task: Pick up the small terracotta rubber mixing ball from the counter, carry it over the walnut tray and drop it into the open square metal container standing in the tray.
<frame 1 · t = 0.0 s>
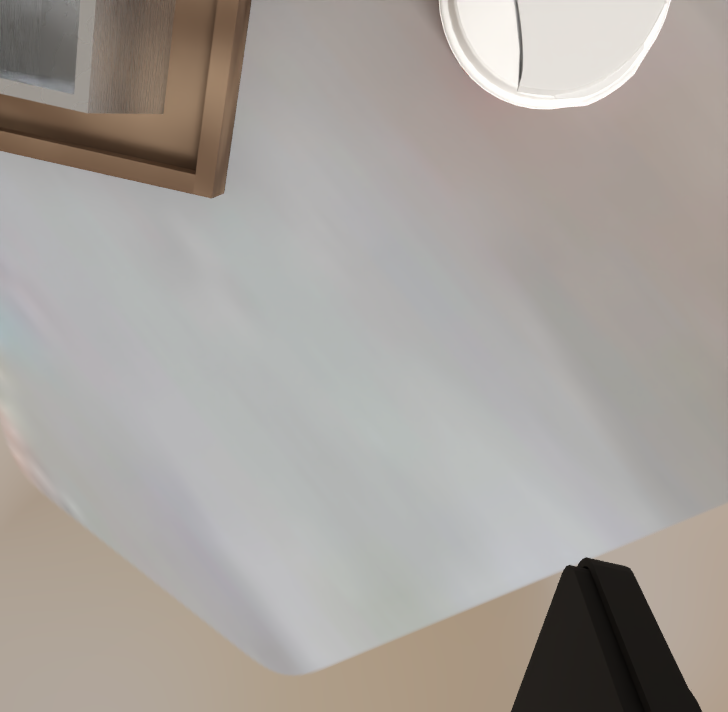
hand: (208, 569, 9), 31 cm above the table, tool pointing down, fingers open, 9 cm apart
paper cup: (506, 32, 35), on the table
square metal container: (103, 27, 35), point 1 cm above the table, touching walnut tray
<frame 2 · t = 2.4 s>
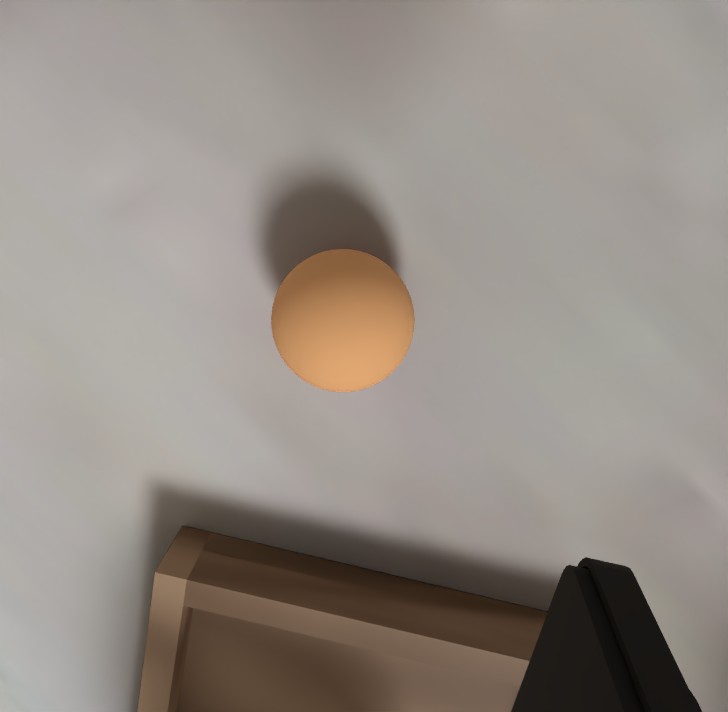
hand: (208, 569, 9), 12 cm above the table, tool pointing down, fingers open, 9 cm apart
mixing ball: (350, 301, 20), on the table
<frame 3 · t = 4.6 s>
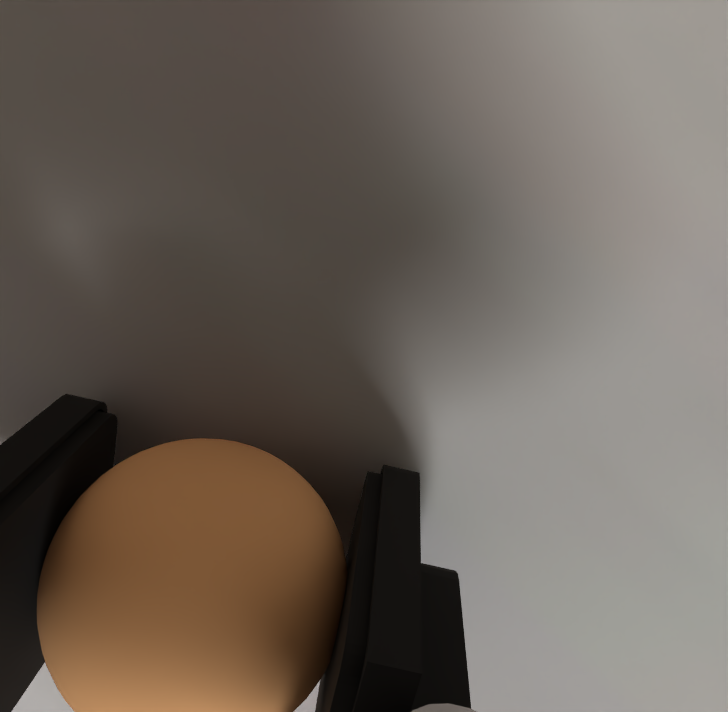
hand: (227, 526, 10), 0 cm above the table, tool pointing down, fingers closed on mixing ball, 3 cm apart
mixing ball: (235, 508, 11), on the table, touching gripper
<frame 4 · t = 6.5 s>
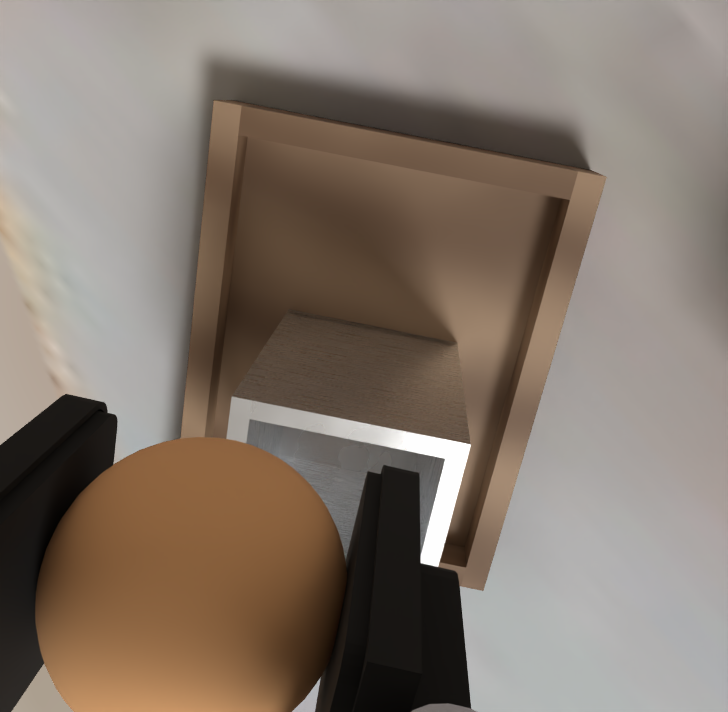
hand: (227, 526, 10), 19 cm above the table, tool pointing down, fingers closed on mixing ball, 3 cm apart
mixing ball: (235, 507, 11), point 19 cm above the table, touching gripper
walnut tray: (368, 351, 30), on the table
square metal container: (358, 402, 30), point 1 cm above the table, touching walnut tray
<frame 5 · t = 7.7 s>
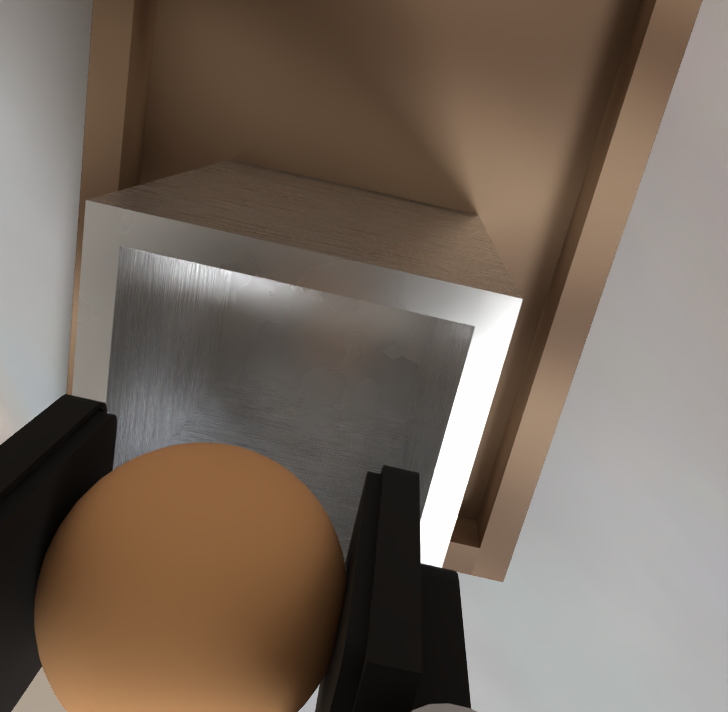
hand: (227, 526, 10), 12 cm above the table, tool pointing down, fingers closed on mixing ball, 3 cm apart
mixing ball: (234, 512, 11), point 12 cm above the table, touching gripper
walnut tray: (347, 233, 21), on the table
square metal container: (331, 305, 21), point 1 cm above the table, touching walnut tray
when the fingers open (10 cm above the table, at t = 8.6 s): mixing ball drops 8 cm, resting on square metal container.
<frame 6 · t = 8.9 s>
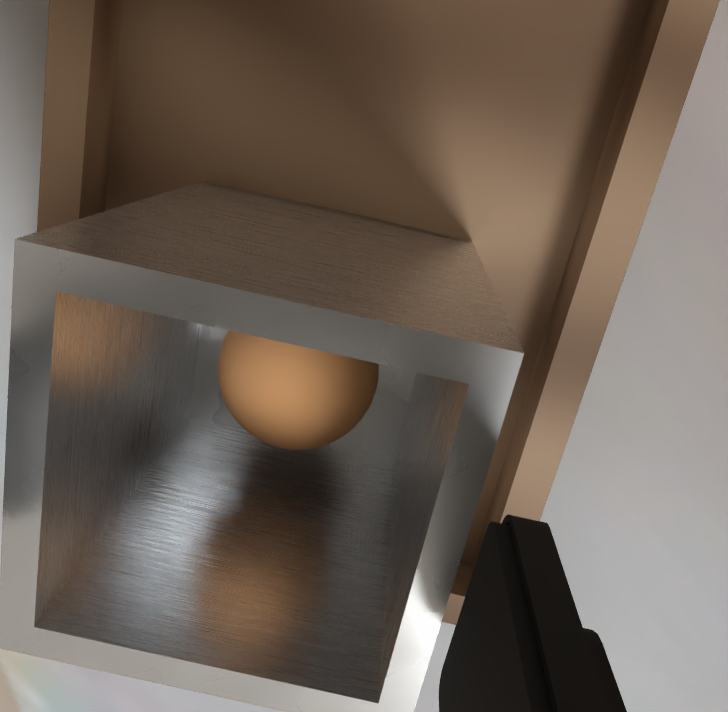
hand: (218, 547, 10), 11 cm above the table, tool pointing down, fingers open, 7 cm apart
mixing ball: (310, 344, 18), point 2 cm above the table, touching square metal container
walnut tray: (331, 259, 19), on the table
square metal container: (313, 337, 19), point 1 cm above the table, touching mixing ball, walnut tray
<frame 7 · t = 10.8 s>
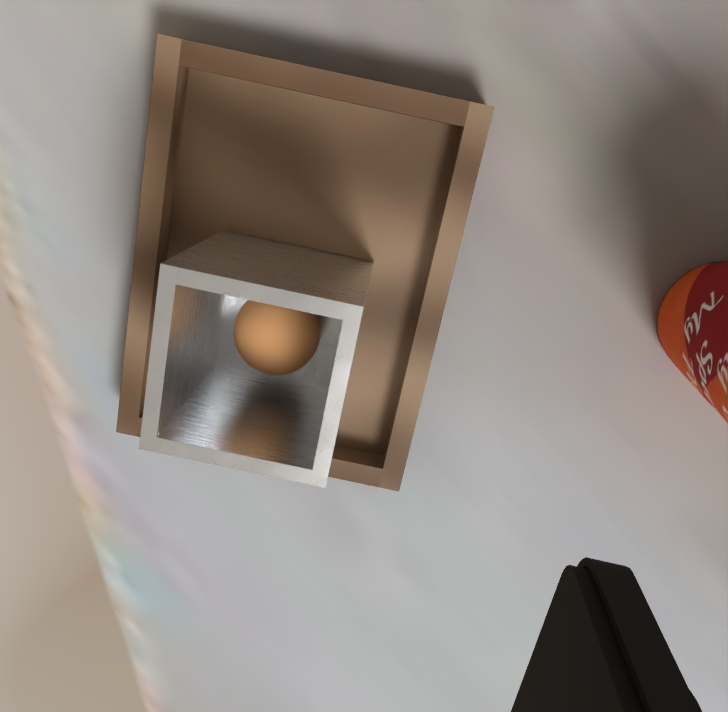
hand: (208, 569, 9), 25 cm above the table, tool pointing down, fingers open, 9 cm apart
mixing ball: (284, 320, 33), point 2 cm above the table, touching square metal container
paper cup: (715, 318, 33), on the table
walnut tray: (297, 272, 34), on the table
square metal container: (286, 317, 33), point 1 cm above the table, touching mixing ball, walnut tray
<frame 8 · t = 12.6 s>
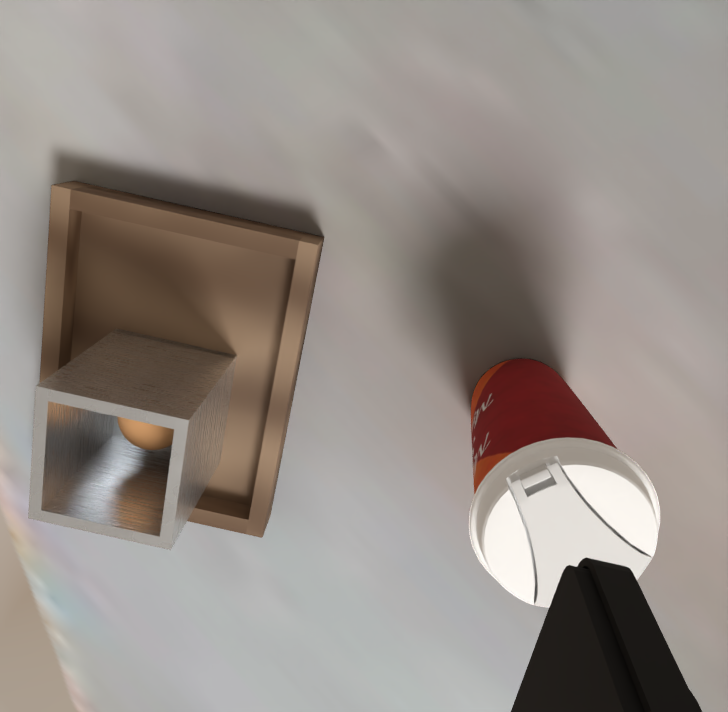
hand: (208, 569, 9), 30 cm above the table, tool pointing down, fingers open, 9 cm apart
mixing ball: (166, 401, 40), point 2 cm above the table, touching square metal container
paper cup: (519, 402, 41), on the table
walnut tray: (179, 360, 41), on the table
square metal container: (169, 397, 41), point 1 cm above the table, touching mixing ball, walnut tray
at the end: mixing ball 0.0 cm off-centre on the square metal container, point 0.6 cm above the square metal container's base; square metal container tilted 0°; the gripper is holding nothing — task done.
